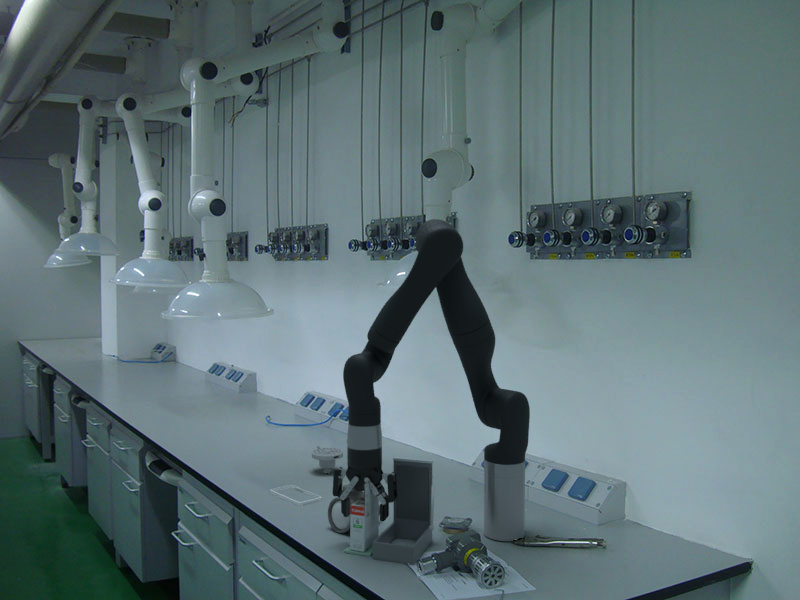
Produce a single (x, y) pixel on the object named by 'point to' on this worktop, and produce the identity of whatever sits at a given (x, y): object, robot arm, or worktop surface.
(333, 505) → the pipe fitting
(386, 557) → the case
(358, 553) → the mat
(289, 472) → the worktop surface
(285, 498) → the phone case
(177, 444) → the worktop surface
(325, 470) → the showerhead
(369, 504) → the ink box
